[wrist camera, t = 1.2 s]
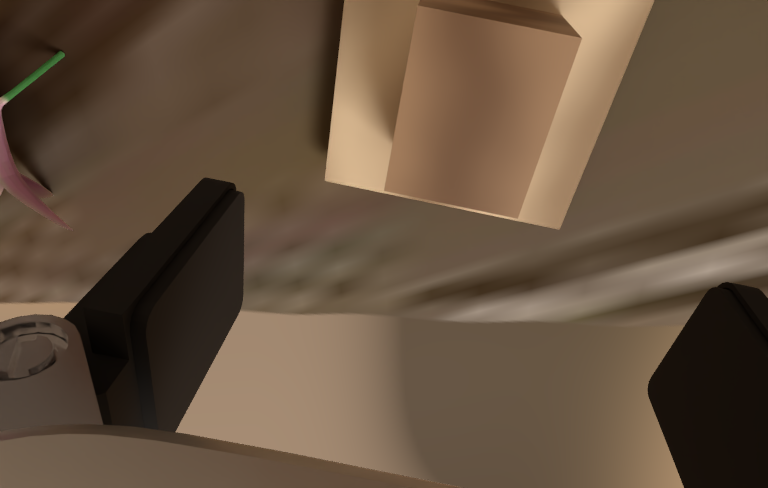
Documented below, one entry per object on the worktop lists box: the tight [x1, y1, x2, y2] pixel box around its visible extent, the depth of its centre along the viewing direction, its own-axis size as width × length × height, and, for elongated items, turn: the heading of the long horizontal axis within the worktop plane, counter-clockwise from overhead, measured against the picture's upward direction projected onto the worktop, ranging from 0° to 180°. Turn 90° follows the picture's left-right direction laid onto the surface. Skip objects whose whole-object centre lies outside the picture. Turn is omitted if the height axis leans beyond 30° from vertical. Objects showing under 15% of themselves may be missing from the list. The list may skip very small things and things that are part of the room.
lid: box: [325, 0, 654, 229], centre depth 21 cm, size 12×12×5 cm
